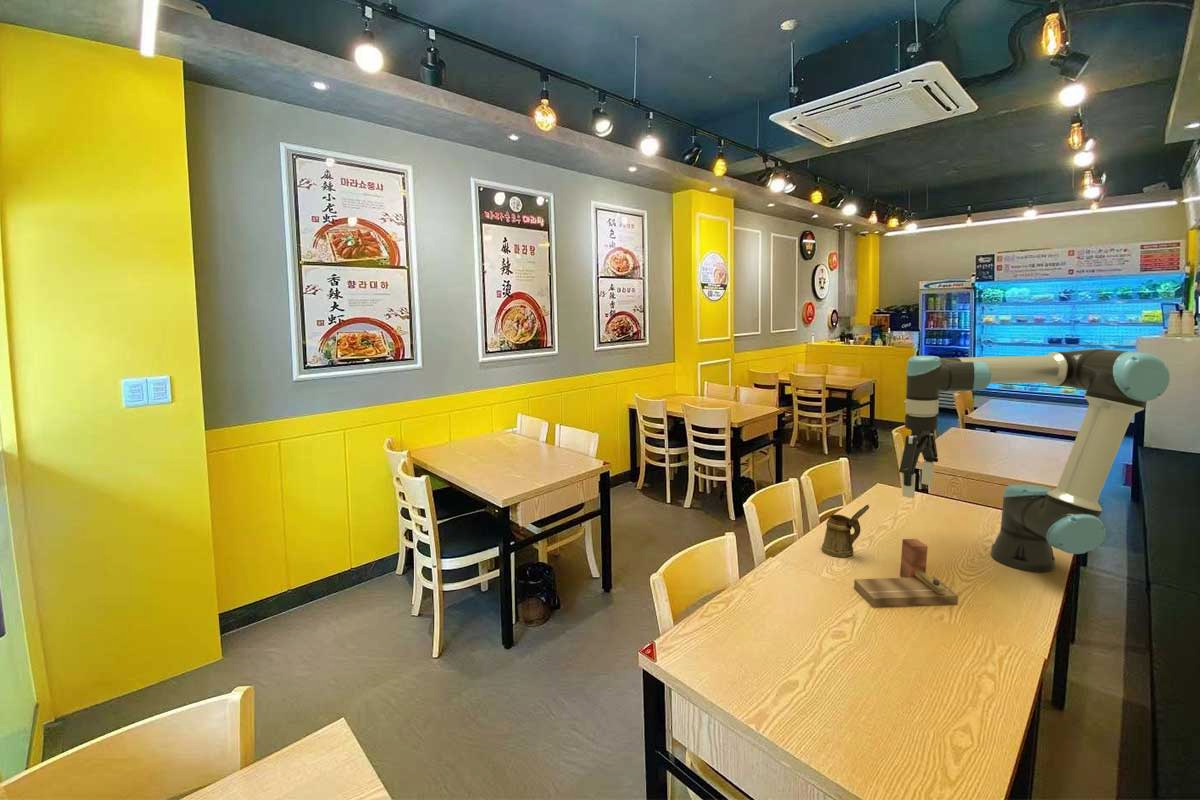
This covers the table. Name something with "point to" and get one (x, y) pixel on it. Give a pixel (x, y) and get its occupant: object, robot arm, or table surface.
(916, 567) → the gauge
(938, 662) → the table surface
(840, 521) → the wooden mug
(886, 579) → the board
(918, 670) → the table surface
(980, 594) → the table surface
